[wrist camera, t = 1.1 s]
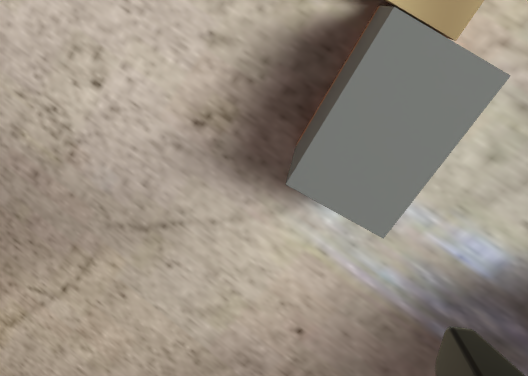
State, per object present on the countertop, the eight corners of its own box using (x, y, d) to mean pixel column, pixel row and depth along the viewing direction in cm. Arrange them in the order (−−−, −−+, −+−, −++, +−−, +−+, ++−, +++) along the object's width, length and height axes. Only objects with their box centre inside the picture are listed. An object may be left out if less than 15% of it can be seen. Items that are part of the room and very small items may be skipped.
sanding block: (464, 56, 17) (510, 75, 13) (372, 184, 20) (383, 238, 15) (378, 5, 17) (394, 6, 13) (296, 142, 20) (285, 184, 15)
